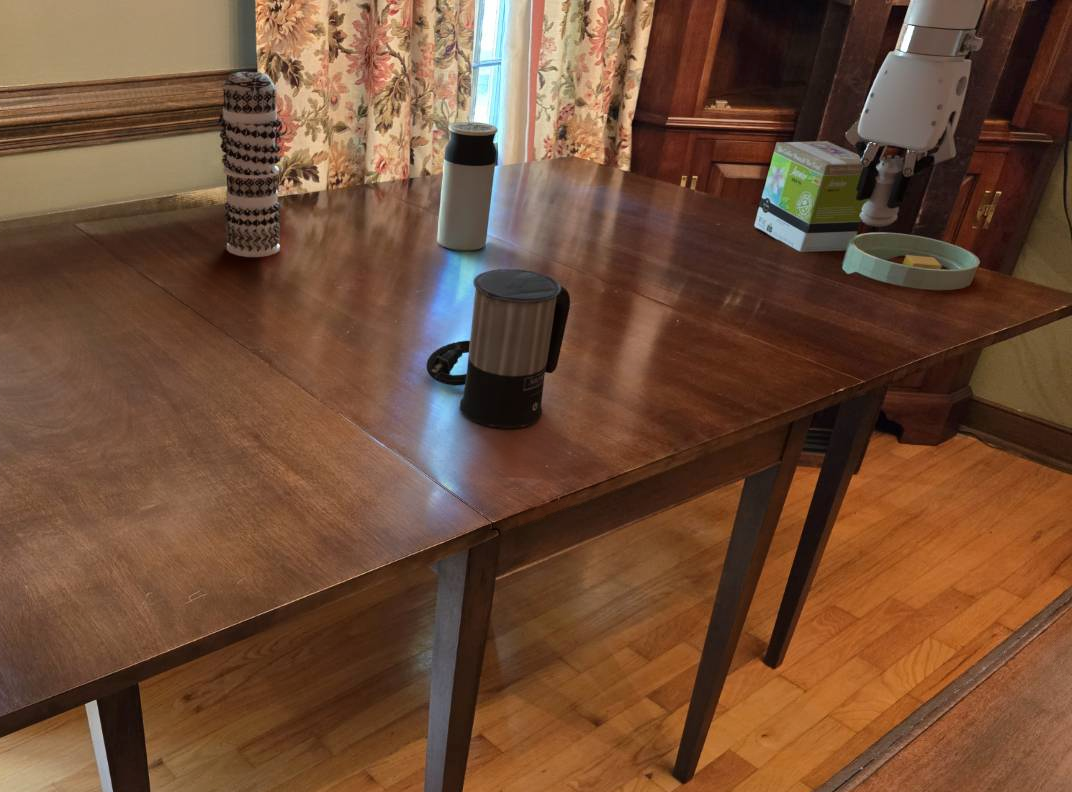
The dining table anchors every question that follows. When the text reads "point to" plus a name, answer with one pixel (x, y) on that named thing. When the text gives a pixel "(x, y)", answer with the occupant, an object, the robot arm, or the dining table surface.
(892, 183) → the rook chess piece
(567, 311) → the milk frother
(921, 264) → the decorative block
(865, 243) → the pale green round tray
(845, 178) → the tea box
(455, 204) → the travel mug
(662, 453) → the dining table surface
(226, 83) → the decorative candle
